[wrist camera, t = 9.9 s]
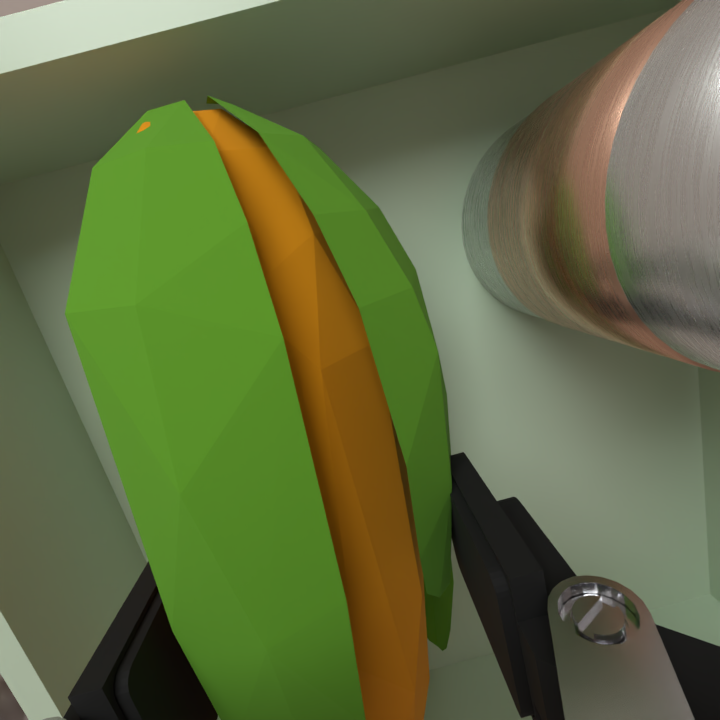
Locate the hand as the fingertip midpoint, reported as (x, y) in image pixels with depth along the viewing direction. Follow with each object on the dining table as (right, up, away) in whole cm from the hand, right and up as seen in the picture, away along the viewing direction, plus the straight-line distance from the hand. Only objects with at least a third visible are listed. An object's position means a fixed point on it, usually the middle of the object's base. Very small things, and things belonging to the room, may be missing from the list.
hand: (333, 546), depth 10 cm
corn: (-1, +1, +4) cm, 4 cm away
